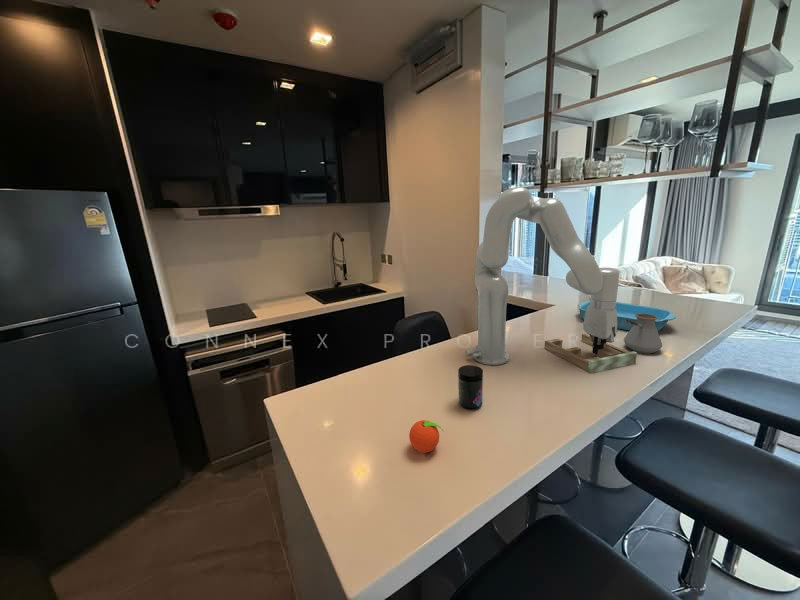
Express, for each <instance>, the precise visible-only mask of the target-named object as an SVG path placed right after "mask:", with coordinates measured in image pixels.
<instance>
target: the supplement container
mask: <svg viewBox="0 0 800 600" xmlns="http://www.w3.org/2000/svg"><path fill="white" fill-rule="evenodd" d="M457 373H458V374H457V377H458V381H457V383H458V384H457V385H458V387H457V388H458V391H457V393H458V404H459V405H460V406H461V408H463V409H465V410H469V411H470V410H471V411H473V410H478V409H480V408H481V407H482V406H483V402H484V401H483V395H484V394H483V392H484V391H483V390H484V389H483V386H484V382H483V381H484V370H483V369H482V368H481V367H480V366H476V365H473V364H468V365H462V366H460V367H459V368H458V369H457Z"/></svg>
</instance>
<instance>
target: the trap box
mask: <svg viewBox="0 0 800 600" xmlns="http://www.w3.org/2000/svg"><path fill="white" fill-rule="evenodd" d="M563 341H564V340H563V339H561V338H559V337H558V338H555V339H554V338H553V339H547V340H544V349H545V350H547V351H549V352H551V353H552V354H554V355H556V356H559V358H562V359H563V360H566V361H567V362H568V363H571V364H572V365H574V366H576V367H578V368H580V369H582V370H584V371H586V372H587V373H589V374H594V373H599V372H604V371H608V370H614V369H617V368H621V367H623V368H624V367H627V366H631V365H636V364H637V358H638V357H637V356H638V352H635V351H633V350H632V351H627V350H625V349H622V348H620V347H618V346H615V345H612V344H611V343H608V342H606V344H604V348H608V347H610V348H612V349H615V350H617V351H619V352H622V354H619V355H614V356H609V357H604V358H599V357H597V356H594V357H590V358H584V357H582V355H581V353H582V348H581V347H578V346H575V347H569V348H564V347H563ZM581 342H582V343H585V344H586V345H589V346H591V347H593V342H592V338H591V337H590V335H588V334H587V333H586V334H585V333H582V335H581Z"/></svg>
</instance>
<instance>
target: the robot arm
mask: <svg viewBox="0 0 800 600" xmlns="http://www.w3.org/2000/svg"><path fill="white" fill-rule="evenodd" d="M487 212H488V213H486V218H485V223H484V231H483V239H482V240H483V241H482V242H480V244H479V246H478V247H477V250H476V256H475V267H474V269H475V270H474V271H475V272H474V284H475V285H474V286H475V288H476V289H477V291H478V307H477V309H478V310H477V333H478V334H477V345H475V348H473V349H469V350H466V351H465V356H466V357H469V356H472V359H474V360H475V361H476V362H478V363H480V364H482V365H483V364H484V365H488V366H498V365H499V366H500V365H504V364H507V363H508V362H509V361H510V355H509V353H508V352H507V351H506V329H507V328H506V326H507V322H506V321H507V319H506V318H507V305H508V297H509V284H508V282H507V280H506V278H505V277H504V276H503V275H502V269H503V267H506V265H507V263H508V260H509V256H510V239H511V231H512V226H513V223H514V221H515V220H516V218H517V219H521V220H523V221H527V222H531V223H535V224H539V225H540V228H541V229H542V232H543V233H544V236H545V238H546V240H547V241H548V244H549V246H550V248H551V250H552V251H553V252H554V253H555V254H556V256H558V257H559V258H560V259H561V260H563V261H564V262H565V263H566V265H567V267H568V268H569V269H570V270H568V272H567V273H566V275H565V282H566V283H567V285H568V286H570V287H571V288H572V289H574V290H576V291H578V292H580V293H582V294H585V295H590V297H589V299H588V301H590V305H589V306H588V308H587V310H586V314H585V319H583V324H582V325H583V327H582V330H583V332H585V333H586V335H588V336H590V337H591V338H592V342H593V346H592V351H591V353H592V354H594V355H596V356H597V353H598V349H603V348H604V344H606V343H608V344H612V343H614V342H615V339H614V338H616V336H617V332H618V328H617V310H615V308H616V302H617V297H618V291H619V283H620V270H619V269H618V268H613V267H599V264H598V263H597V261H596V258H595V257H594V255H593V254H592V253H591V252H590V251H589V249H588V247H586V245H585V243H583V241H582V240H581V239H580V237H579V236H578V234H577V232H576V229H575V227H574V224H573V223H572V221H571V219H570V216H569V214H568V212H567V210H566V207H565V206H564V203H563V202H562V201H561V200H560V199H559V198H556V197H547V198H543V197H539V196H535V195H532V194H531V192H530V190H529V189H527V188H526V187H522V186H516V187H511V188H508V189H505V190H503V192H502V193H500V194H499V196H498V198H497V199H496V200H495V201H494V203H492V205H491V207H490V209H489V210H488V211H487Z"/></svg>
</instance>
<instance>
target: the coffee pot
mask: <svg viewBox="0 0 800 600" xmlns="http://www.w3.org/2000/svg"><path fill="white" fill-rule="evenodd" d="M635 316H636V317H637V321H636V322H635V321H631V320H630V319H626V321H627V322H628V323H629V324H630V323H631V324H633V325H634V326H633V327H632V328H631V330H630V331H628V332H627V334H626V335H625V337H624V339H623V342H624V344H625V345H626V346H627V347H628V348H629V350H630V351H632V352H633V351H634V352H637V353H640V354H654V353H655V352H658V351H660V350H661V349H662V347H663V342H662V339H661V337H660V334H659V331H657V328H656V326H655V321H656V319H658V318H657V317H656V316H654V315H650V314H635ZM623 321H624V320H623ZM623 321H622V323H623ZM629 324H628V325H629Z"/></svg>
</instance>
